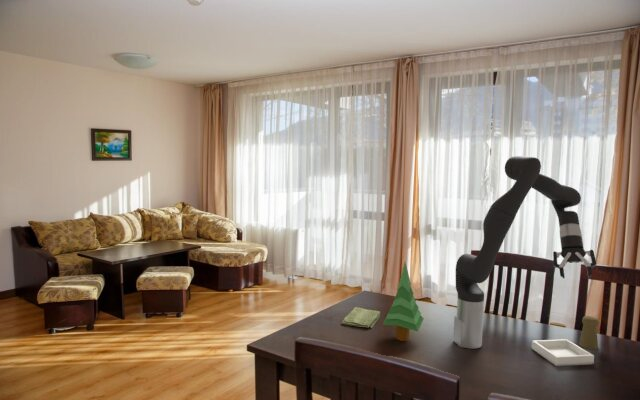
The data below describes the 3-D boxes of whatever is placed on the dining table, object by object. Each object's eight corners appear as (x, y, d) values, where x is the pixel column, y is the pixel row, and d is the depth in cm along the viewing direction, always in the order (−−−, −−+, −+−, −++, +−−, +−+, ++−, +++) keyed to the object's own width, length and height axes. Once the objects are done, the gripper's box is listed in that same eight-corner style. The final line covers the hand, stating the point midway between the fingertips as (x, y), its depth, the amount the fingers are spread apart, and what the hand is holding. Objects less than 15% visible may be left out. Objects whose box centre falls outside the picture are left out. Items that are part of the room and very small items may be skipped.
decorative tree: (378, 342, 164) (380, 263, 161) (392, 328, 178) (394, 254, 175) (414, 350, 158) (417, 267, 155) (425, 335, 171) (428, 259, 169)
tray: (556, 366, 147) (556, 357, 147) (531, 348, 160) (532, 340, 160) (593, 364, 149) (594, 355, 148) (566, 347, 162) (566, 339, 162)
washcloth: (340, 326, 180) (340, 318, 180) (354, 312, 197) (354, 305, 196) (371, 331, 175) (371, 323, 175) (382, 316, 192) (382, 309, 191)
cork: (601, 350, 160) (603, 320, 159) (582, 348, 161) (584, 319, 160) (594, 343, 166) (596, 314, 165) (576, 341, 167) (578, 313, 166)
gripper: (550, 235, 175) (554, 276, 169) (592, 232, 168) (598, 274, 162) (551, 241, 181) (555, 280, 175) (591, 238, 174) (598, 279, 168)
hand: (576, 277), depth 169 cm, fingers open, 8 cm apart
